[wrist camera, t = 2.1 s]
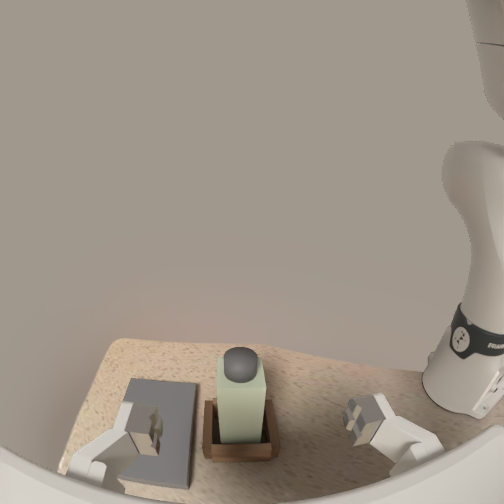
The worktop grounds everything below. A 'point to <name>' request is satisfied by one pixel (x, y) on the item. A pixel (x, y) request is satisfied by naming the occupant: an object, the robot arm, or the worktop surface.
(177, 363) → the worktop surface
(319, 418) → the worktop surface
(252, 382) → the spice grinder
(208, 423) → the walnut pocket
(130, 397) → the slate board
